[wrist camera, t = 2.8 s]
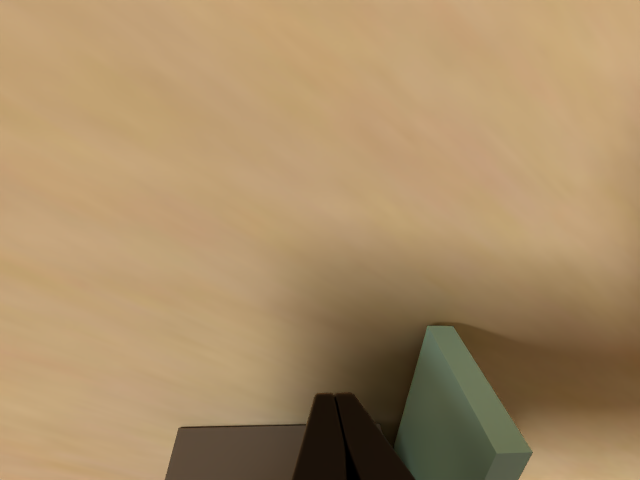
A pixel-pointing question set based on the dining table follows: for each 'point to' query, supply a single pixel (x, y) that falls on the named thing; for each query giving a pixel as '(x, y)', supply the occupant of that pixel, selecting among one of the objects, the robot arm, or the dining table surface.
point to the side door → (456, 418)
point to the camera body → (236, 453)
